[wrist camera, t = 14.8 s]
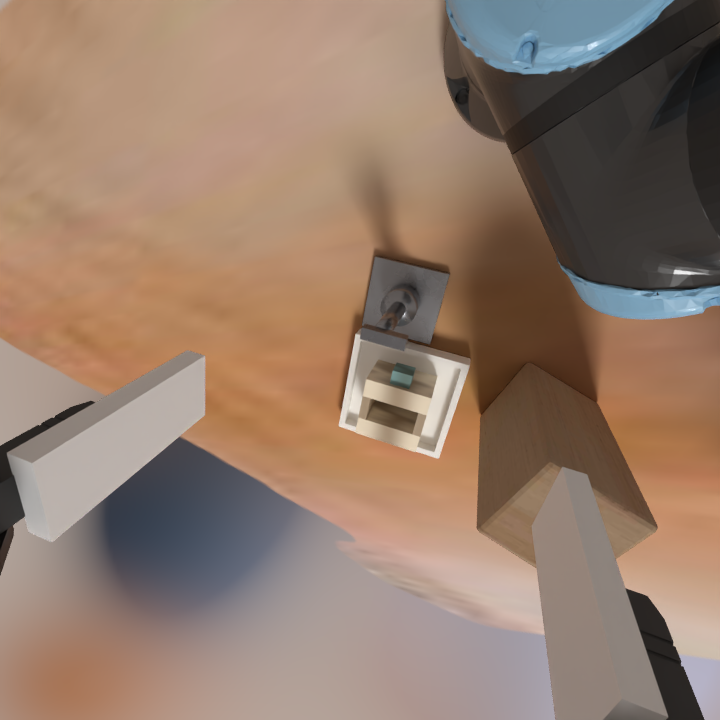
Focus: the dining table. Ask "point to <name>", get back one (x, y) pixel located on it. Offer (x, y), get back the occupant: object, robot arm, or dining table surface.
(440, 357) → the tray
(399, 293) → the grey lever faucet
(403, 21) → the dining table surface
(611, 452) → the wooden block
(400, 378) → the collar
